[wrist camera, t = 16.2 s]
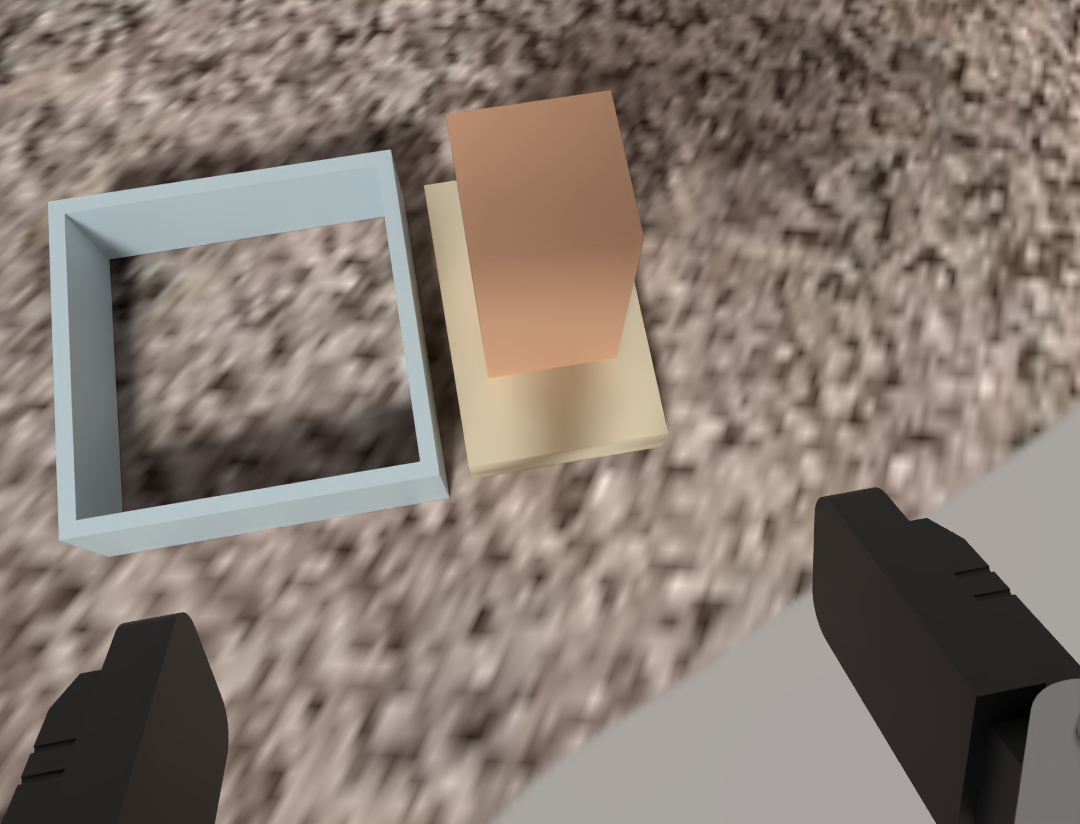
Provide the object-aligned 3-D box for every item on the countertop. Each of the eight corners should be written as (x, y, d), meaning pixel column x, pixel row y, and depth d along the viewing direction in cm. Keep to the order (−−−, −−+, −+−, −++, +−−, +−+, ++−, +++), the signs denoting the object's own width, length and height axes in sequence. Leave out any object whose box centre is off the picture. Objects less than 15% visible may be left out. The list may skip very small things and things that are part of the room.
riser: (472, 478, 38) (469, 466, 36) (429, 209, 41) (424, 185, 39) (661, 446, 38) (668, 433, 36) (603, 182, 41) (606, 157, 39)
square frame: (109, 556, 37) (59, 540, 33) (94, 248, 40) (48, 201, 36) (449, 497, 37) (439, 474, 33) (404, 200, 41) (390, 149, 37)
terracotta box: (488, 378, 37) (471, 265, 27) (469, 261, 38) (446, 114, 28) (616, 357, 37) (644, 238, 27) (592, 242, 38) (610, 89, 29)
